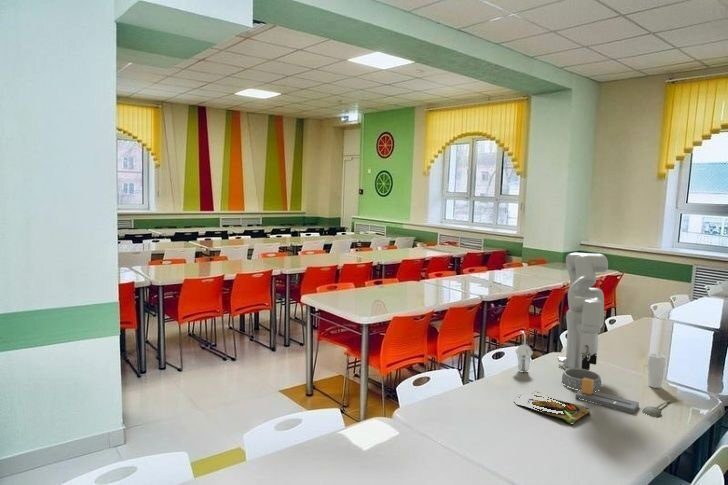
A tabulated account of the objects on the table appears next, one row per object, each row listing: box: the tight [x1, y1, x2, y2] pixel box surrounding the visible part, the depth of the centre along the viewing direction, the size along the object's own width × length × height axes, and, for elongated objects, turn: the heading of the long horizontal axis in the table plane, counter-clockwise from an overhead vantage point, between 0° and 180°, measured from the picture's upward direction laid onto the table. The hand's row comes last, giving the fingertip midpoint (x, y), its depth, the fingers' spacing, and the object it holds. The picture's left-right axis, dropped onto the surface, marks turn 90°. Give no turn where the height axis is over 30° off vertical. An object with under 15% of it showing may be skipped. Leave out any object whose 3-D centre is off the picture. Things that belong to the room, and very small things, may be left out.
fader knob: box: [582, 377, 594, 395], centre depth 220 cm, size 4×3×6 cm
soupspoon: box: [642, 399, 673, 418], centre depth 209 cm, size 22×3×7 cm
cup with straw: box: [514, 330, 534, 372], centre depth 252 cm, size 8×9×20 cm
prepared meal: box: [518, 391, 591, 424], centre depth 208 cm, size 28×4×18 cm
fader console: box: [575, 389, 640, 414], centre depth 215 cm, size 23×9×2 cm, turn 50°
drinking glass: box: [647, 352, 666, 389], centre depth 233 cm, size 7×7×15 cm
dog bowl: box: [561, 368, 602, 392], centre depth 236 cm, size 17×18×5 cm
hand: (589, 366), depth 218 cm, fingers open, 9 cm apart
